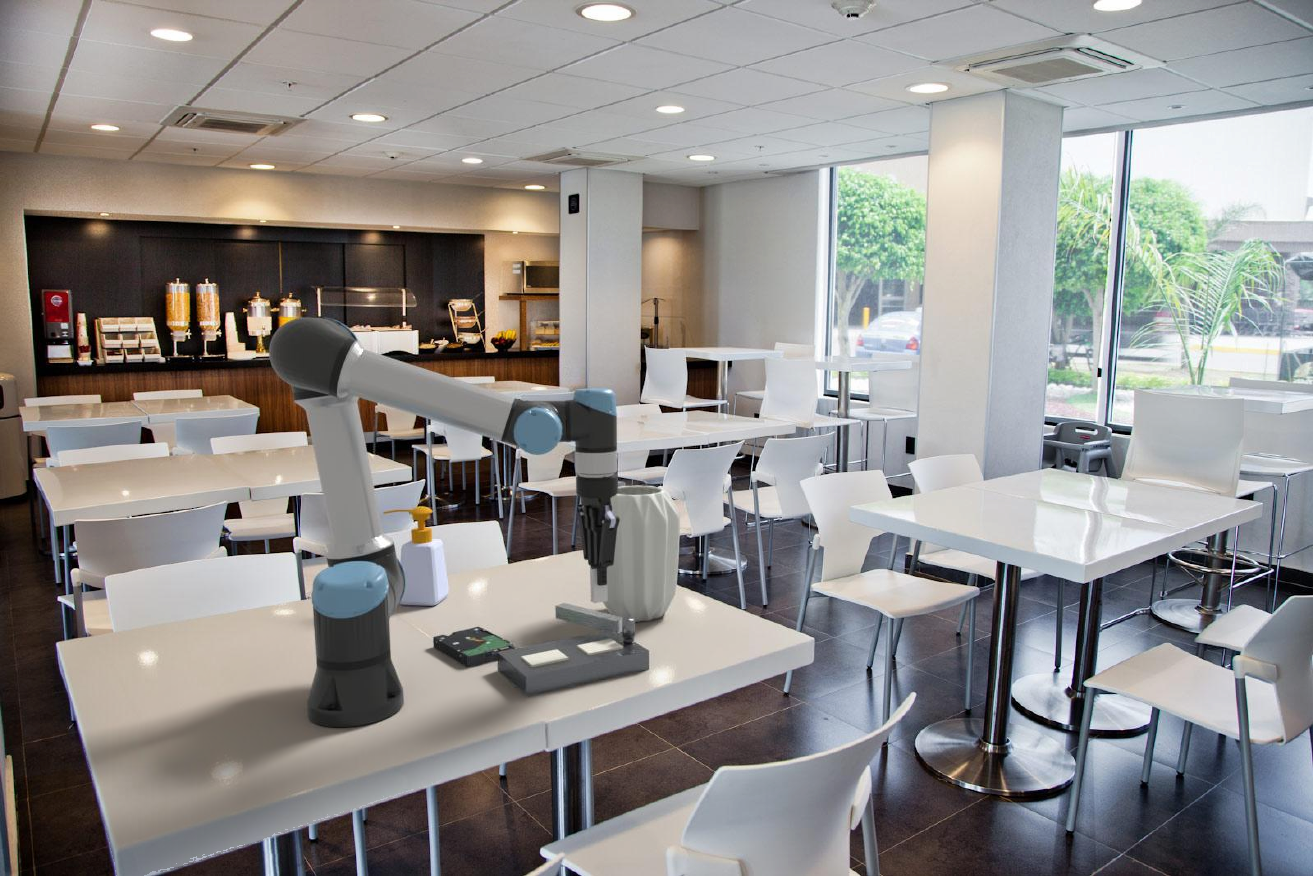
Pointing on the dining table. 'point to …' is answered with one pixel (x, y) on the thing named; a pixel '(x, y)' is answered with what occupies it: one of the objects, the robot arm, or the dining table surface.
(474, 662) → the disk drive
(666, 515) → the vase
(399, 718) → the dining table surface
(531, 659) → the label
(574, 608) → the gray rectangular bar
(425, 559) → the soap bottle
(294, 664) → the dining table surface
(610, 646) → the label
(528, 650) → the plate
